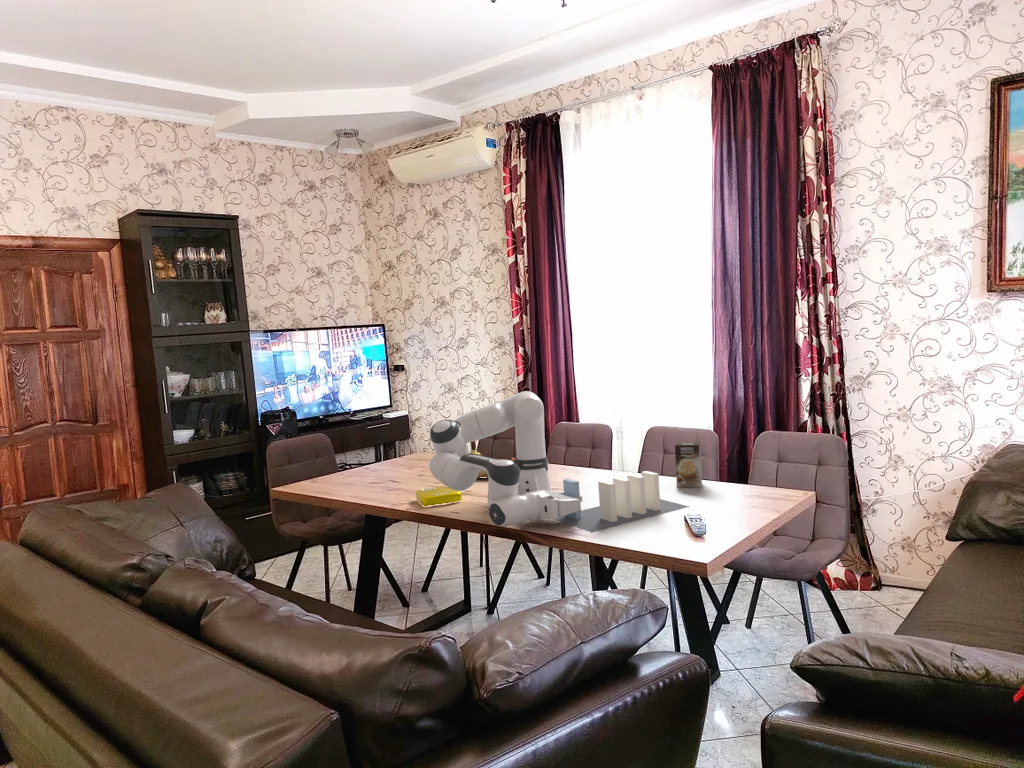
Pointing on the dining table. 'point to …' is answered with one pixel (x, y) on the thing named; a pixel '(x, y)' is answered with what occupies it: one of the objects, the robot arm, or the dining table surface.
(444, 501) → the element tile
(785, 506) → the dining table surface
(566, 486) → the blue domino
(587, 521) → the rubber mat
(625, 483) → the domino
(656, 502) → the domino
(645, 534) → the dining table surface
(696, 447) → the coffee box
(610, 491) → the domino
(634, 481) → the domino
